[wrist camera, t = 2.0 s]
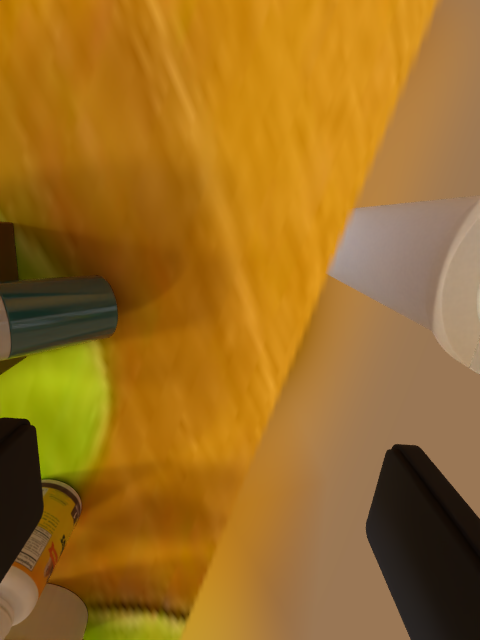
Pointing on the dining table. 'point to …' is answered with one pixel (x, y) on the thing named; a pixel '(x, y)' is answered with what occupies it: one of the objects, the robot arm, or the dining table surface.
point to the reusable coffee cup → (53, 617)
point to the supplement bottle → (38, 554)
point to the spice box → (8, 273)
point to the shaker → (54, 313)
